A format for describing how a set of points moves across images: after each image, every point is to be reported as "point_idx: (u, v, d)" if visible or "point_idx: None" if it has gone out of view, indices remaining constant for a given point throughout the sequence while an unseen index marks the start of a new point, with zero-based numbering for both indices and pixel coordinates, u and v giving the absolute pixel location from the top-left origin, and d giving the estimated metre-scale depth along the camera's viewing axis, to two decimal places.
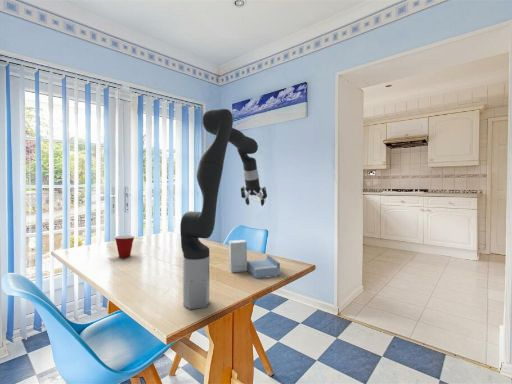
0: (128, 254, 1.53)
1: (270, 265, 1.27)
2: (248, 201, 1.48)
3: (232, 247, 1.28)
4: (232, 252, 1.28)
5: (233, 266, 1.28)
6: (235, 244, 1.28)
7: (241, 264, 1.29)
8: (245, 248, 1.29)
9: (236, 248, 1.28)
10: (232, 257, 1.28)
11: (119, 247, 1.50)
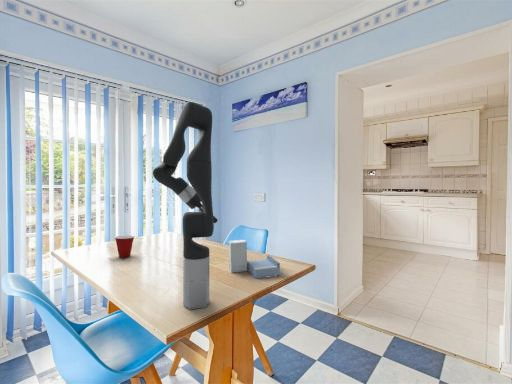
0: (128, 254, 1.53)
1: (270, 265, 1.27)
2: (213, 219, 1.23)
3: (232, 247, 1.28)
4: (232, 252, 1.28)
5: (233, 266, 1.28)
6: (235, 244, 1.28)
7: (241, 264, 1.29)
8: (245, 248, 1.29)
9: (236, 248, 1.28)
10: (232, 257, 1.28)
11: (119, 247, 1.50)
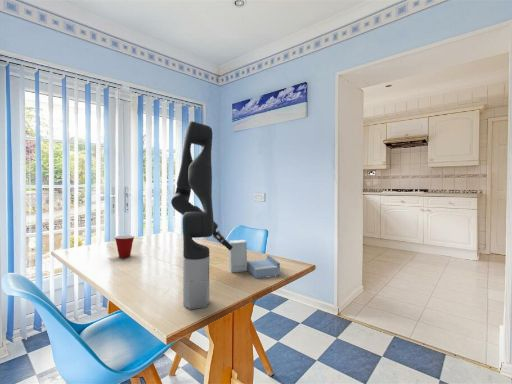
0: (128, 254, 1.53)
1: (270, 265, 1.27)
2: None
3: None
4: (232, 252, 1.28)
5: (233, 266, 1.28)
6: (235, 244, 1.28)
7: (241, 264, 1.29)
8: (244, 248, 1.29)
9: (236, 248, 1.28)
10: (232, 257, 1.28)
11: (119, 247, 1.50)
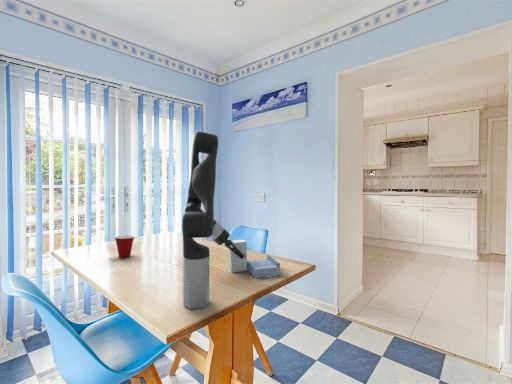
0: (128, 254, 1.53)
1: (270, 265, 1.27)
2: None
3: None
4: (232, 252, 1.28)
5: (233, 266, 1.28)
6: (235, 244, 1.28)
7: (241, 264, 1.29)
8: (245, 248, 1.29)
9: None
10: (232, 257, 1.28)
11: (119, 247, 1.50)
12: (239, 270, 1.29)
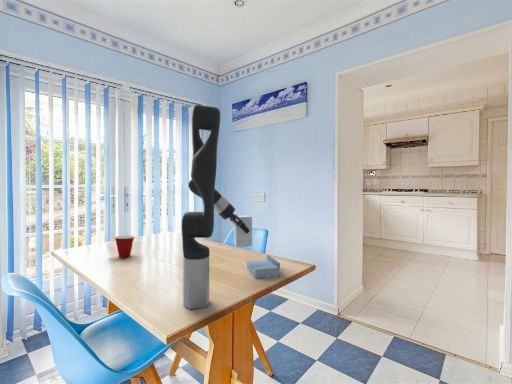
0: (128, 254, 1.53)
1: (270, 265, 1.27)
2: None
3: None
4: (237, 227, 1.27)
5: (238, 241, 1.27)
6: (240, 218, 1.27)
7: (246, 239, 1.28)
8: (250, 223, 1.28)
9: None
10: (237, 231, 1.27)
11: (119, 247, 1.50)
12: (244, 245, 1.28)
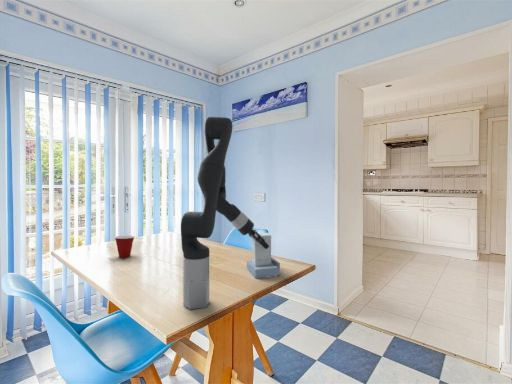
0: (128, 254, 1.53)
1: (270, 265, 1.27)
2: None
3: None
4: (257, 246, 1.25)
5: (257, 260, 1.26)
6: None
7: (265, 258, 1.27)
8: (269, 242, 1.26)
9: None
10: (256, 251, 1.25)
11: (119, 247, 1.50)
12: (263, 264, 1.27)
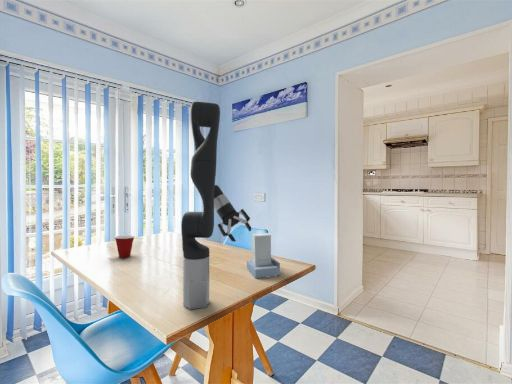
0: (128, 254, 1.53)
1: (270, 265, 1.27)
2: None
3: (256, 240, 1.25)
4: (256, 246, 1.25)
5: (257, 260, 1.26)
6: (259, 237, 1.25)
7: (265, 258, 1.27)
8: (269, 241, 1.27)
9: (260, 241, 1.26)
10: (256, 250, 1.25)
11: (119, 247, 1.50)
12: (263, 264, 1.27)
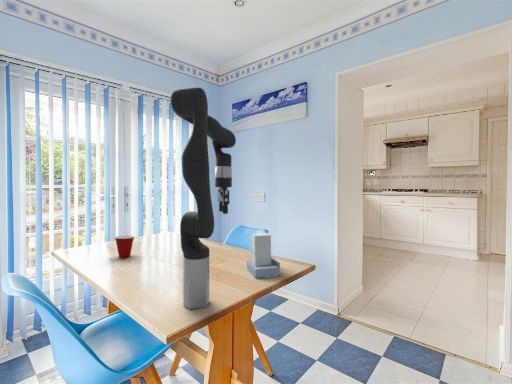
0: (128, 254, 1.53)
1: (270, 265, 1.27)
2: (221, 207, 1.24)
3: (256, 240, 1.25)
4: (256, 246, 1.25)
5: (257, 260, 1.26)
6: (259, 237, 1.25)
7: (265, 258, 1.27)
8: (269, 241, 1.27)
9: (260, 241, 1.26)
10: (256, 250, 1.25)
11: (119, 247, 1.50)
12: (263, 264, 1.27)
